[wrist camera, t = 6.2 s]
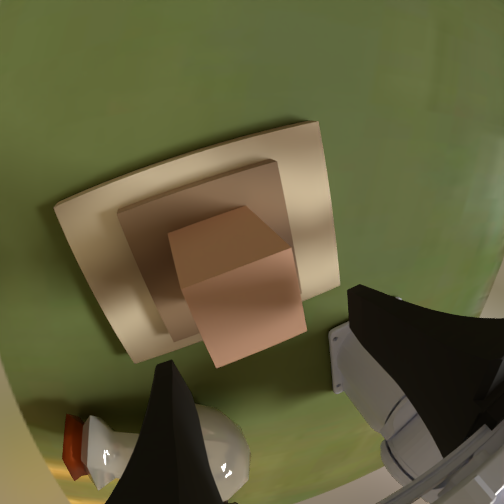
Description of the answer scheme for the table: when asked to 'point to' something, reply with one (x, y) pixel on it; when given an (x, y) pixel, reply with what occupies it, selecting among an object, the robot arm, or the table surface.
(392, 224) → the table surface
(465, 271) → the table surface
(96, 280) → the base board
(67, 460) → the potion bottle
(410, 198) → the table surface
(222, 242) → the block
